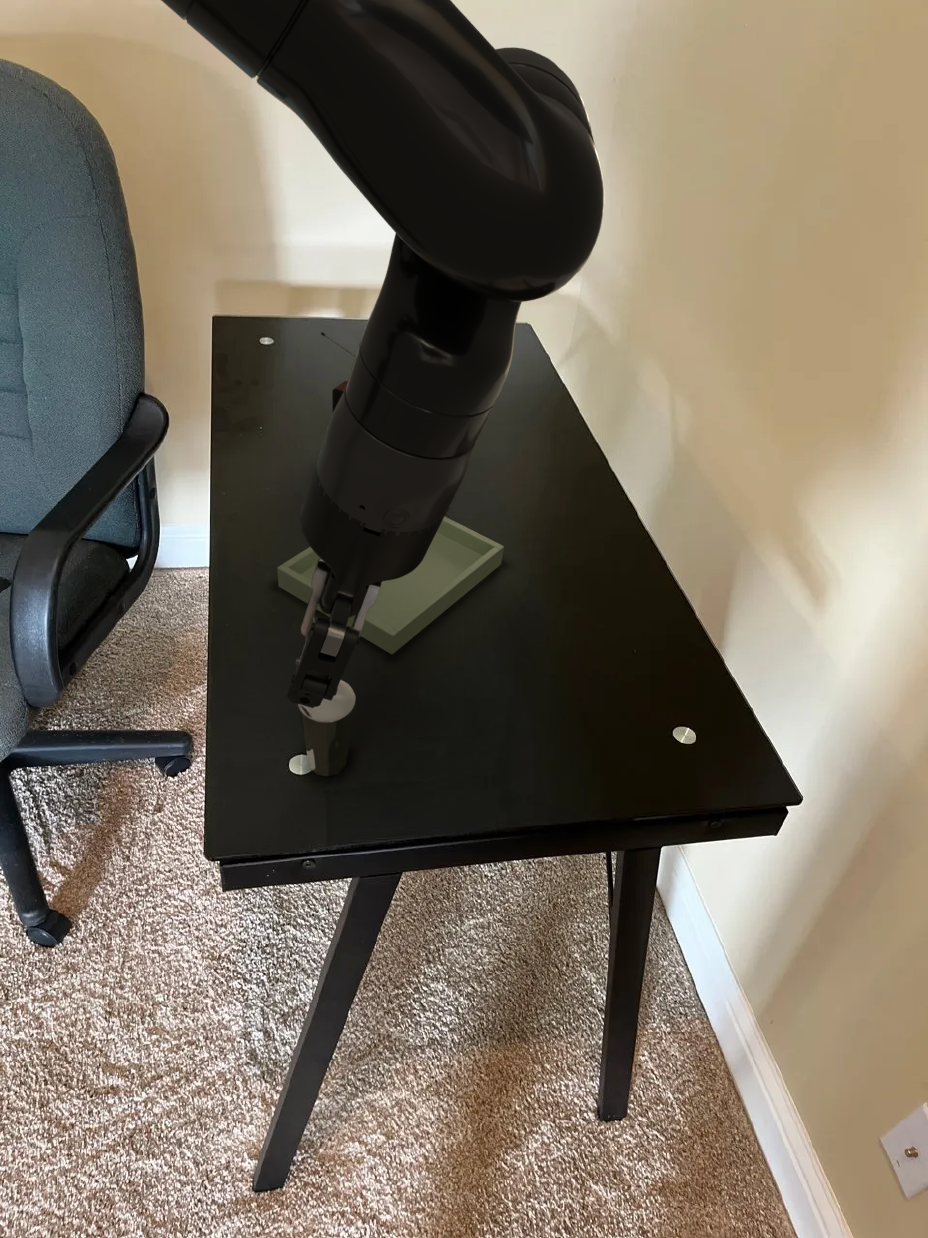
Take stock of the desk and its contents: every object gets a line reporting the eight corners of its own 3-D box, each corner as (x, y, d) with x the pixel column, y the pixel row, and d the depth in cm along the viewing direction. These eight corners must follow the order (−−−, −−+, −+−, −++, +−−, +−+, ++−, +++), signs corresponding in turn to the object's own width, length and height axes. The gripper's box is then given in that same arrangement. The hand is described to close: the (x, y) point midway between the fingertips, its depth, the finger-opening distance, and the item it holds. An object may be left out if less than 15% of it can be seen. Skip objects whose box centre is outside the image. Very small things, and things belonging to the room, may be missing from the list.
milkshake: (283, 774, 70) (277, 694, 63) (321, 733, 73) (319, 653, 67) (328, 798, 68) (326, 719, 62) (364, 755, 72) (366, 676, 65)
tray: (392, 655, 82) (393, 636, 80) (278, 586, 88) (276, 567, 86) (501, 564, 94) (504, 546, 92) (395, 509, 100) (396, 491, 98)
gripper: (343, 378, 48) (286, 558, 60) (289, 544, 39) (233, 720, 50) (462, 423, 50) (384, 590, 62) (438, 593, 41) (351, 752, 52)
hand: (316, 649), depth 56 cm, fingers open, 8 cm apart
